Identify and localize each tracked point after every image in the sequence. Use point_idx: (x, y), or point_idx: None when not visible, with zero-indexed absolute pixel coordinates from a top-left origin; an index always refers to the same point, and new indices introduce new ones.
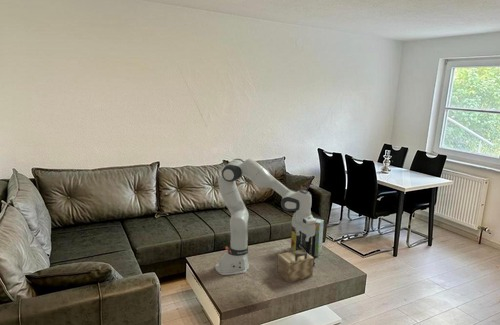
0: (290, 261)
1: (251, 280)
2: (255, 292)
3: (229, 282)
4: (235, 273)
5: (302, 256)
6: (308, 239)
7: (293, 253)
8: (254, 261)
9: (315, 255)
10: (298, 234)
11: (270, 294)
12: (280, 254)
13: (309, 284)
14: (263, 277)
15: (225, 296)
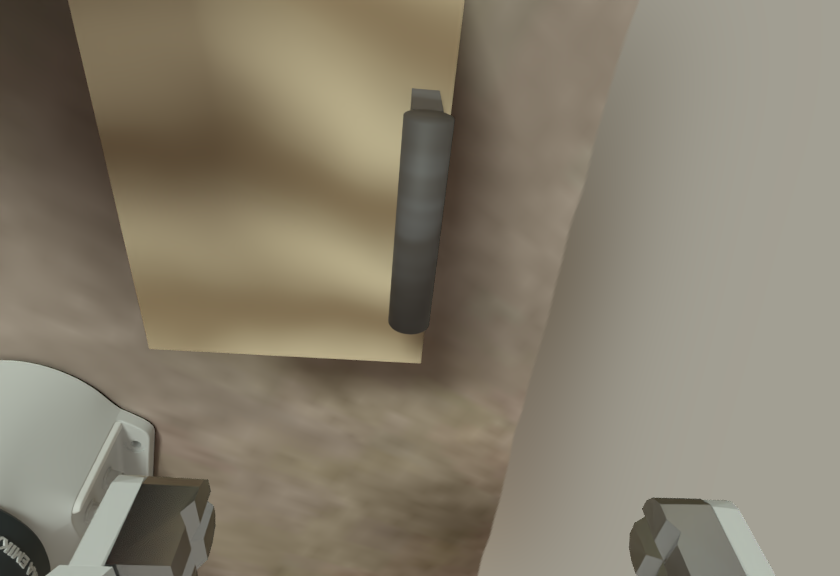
0: (391, 334)
1: (270, 431)
2: (414, 466)
3: (244, 521)
4: (151, 475)
5: (337, 99)
6: (754, 557)
7: (181, 162)
8: None
9: None
10: (193, 541)
11: (483, 415)
12: (164, 334)
13: (557, 90)
14: (261, 356)
15: (370, 569)
